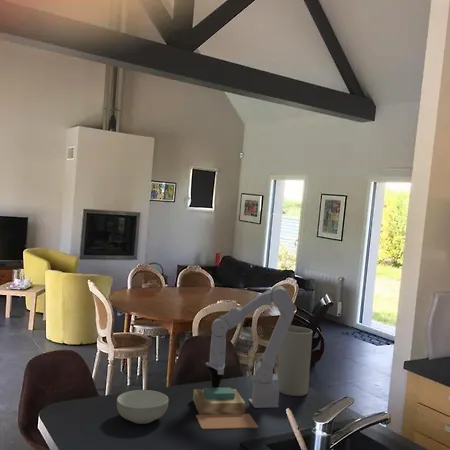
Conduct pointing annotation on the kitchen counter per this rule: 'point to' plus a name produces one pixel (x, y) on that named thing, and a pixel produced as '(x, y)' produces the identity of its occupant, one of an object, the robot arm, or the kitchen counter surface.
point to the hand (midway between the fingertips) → (215, 387)
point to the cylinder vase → (295, 361)
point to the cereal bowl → (142, 405)
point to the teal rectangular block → (219, 393)
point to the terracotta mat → (226, 421)
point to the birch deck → (218, 404)
